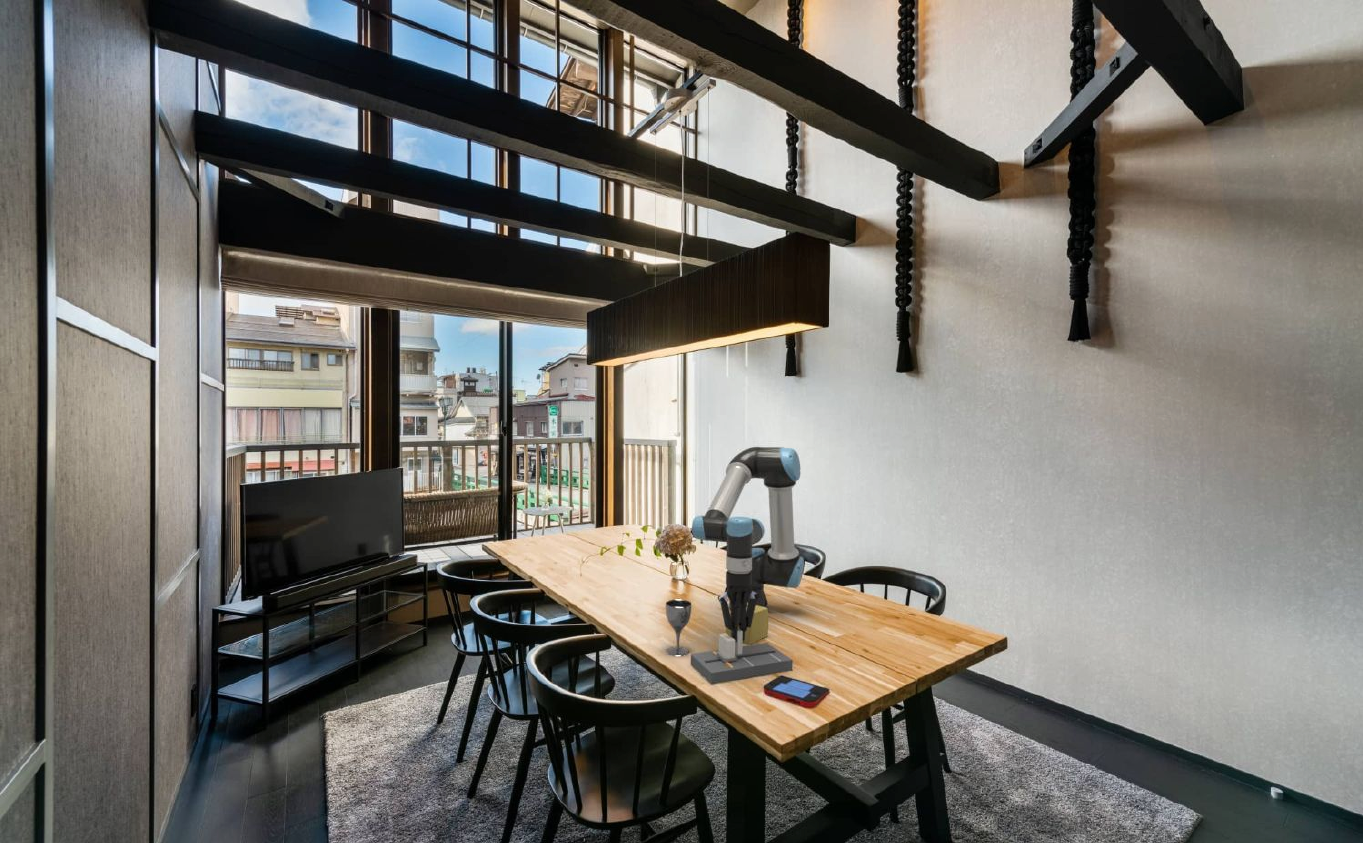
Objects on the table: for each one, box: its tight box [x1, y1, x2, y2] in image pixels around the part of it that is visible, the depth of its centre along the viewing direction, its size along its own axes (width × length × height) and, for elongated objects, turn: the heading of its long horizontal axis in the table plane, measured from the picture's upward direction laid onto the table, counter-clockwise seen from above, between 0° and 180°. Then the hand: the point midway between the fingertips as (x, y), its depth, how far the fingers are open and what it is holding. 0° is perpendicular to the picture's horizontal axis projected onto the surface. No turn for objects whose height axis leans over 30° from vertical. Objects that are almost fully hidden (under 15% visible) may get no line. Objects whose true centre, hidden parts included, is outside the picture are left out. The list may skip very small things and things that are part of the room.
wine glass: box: [665, 598, 692, 657], centre depth 174 cm, size 8×8×15 cm
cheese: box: [725, 603, 769, 645], centre depth 188 cm, size 10×11×10 cm
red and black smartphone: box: [763, 674, 830, 709], centre depth 148 cm, size 14×13×2 cm
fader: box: [717, 632, 737, 662], centre depth 161 cm, size 4×6×6 cm
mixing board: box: [690, 642, 794, 685], centre depth 163 cm, size 26×14×3 cm, turn 113°
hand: (737, 652), depth 162 cm, fingers closed
